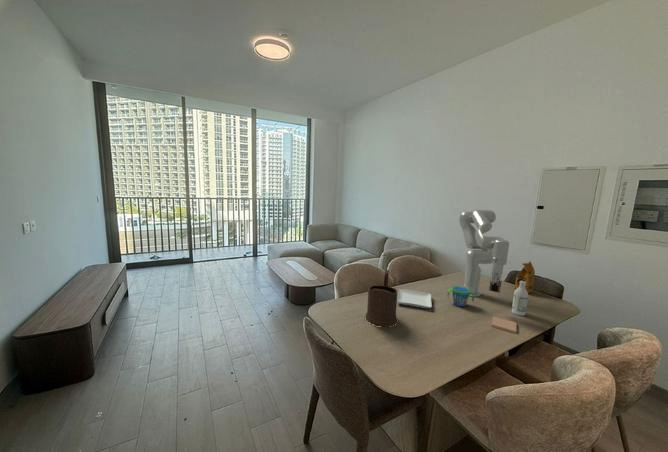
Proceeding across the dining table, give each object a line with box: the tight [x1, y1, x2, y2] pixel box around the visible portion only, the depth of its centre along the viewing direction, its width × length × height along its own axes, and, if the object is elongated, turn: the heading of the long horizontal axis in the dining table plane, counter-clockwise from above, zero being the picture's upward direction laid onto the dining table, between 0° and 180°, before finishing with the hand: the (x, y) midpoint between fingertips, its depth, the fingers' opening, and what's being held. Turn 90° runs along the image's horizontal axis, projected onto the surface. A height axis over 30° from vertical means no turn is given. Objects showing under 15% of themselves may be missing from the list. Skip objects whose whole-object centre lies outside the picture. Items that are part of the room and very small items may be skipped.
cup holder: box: [364, 269, 398, 328], centre depth 146 cm, size 18×24×25 cm
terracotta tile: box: [491, 316, 517, 334], centre depth 142 cm, size 11×11×1 cm
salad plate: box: [397, 288, 433, 309], centre depth 169 cm, size 21×21×3 cm
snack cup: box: [446, 285, 475, 308], centre depth 166 cm, size 16×10×10 cm
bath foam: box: [511, 281, 529, 316], centre depth 156 cm, size 7×7×20 cm
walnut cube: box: [488, 278, 502, 294], centre depth 155 cm, size 6×6×6 cm
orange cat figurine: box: [514, 261, 536, 294], centre depth 190 cm, size 10×12×22 cm
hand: (494, 289), depth 155 cm, fingers closed on walnut cube, 5 cm apart
